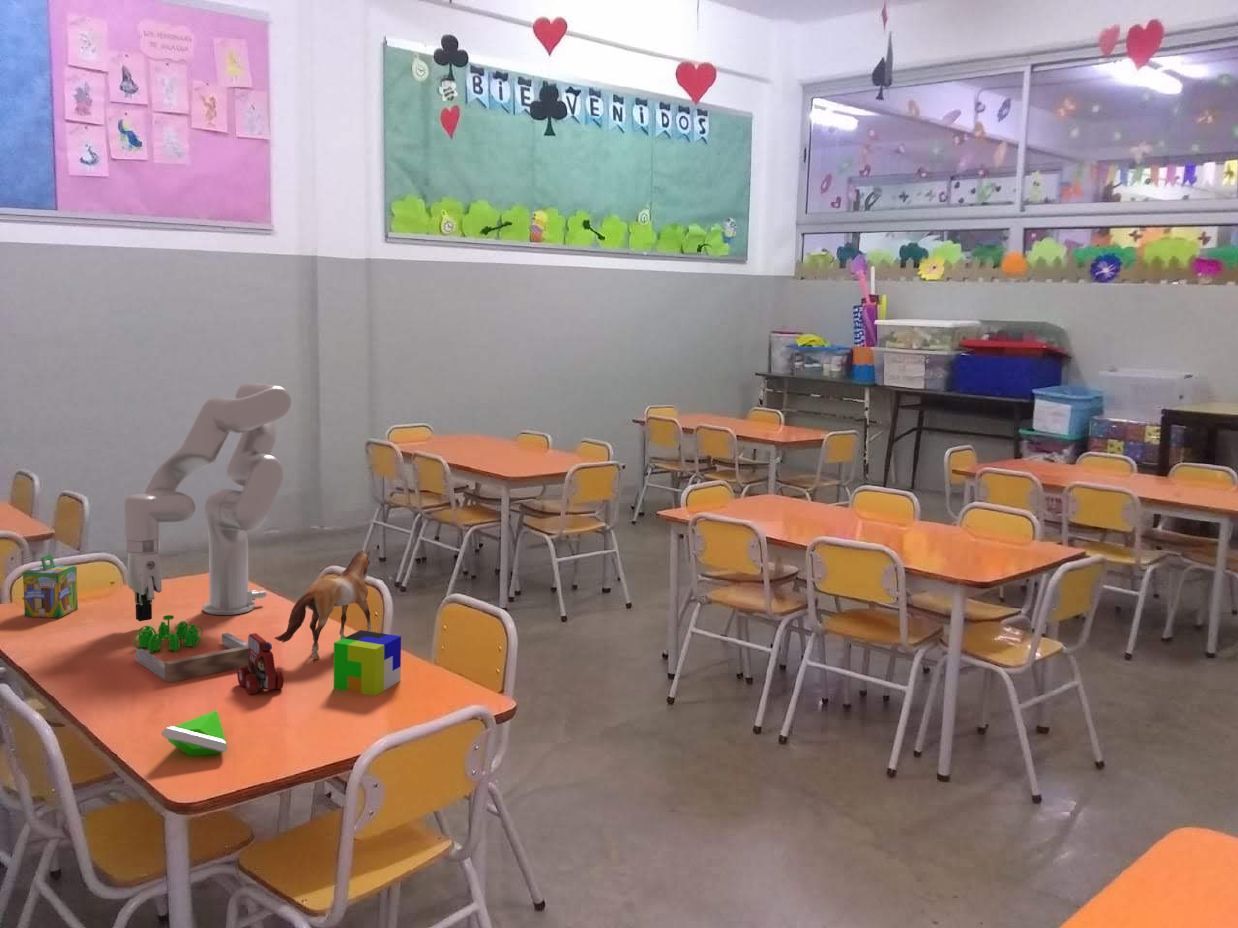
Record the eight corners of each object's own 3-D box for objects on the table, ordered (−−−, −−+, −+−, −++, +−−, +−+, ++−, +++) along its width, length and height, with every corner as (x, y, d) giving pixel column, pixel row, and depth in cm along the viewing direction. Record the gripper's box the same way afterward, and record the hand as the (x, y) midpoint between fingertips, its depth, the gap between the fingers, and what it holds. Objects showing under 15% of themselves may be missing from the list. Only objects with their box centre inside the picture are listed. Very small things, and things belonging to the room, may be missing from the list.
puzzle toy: (400, 681, 226) (401, 636, 225) (375, 696, 217) (375, 649, 215) (360, 674, 229) (360, 630, 228) (333, 688, 220) (333, 642, 218)
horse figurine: (362, 628, 262) (363, 548, 259) (388, 633, 259) (389, 552, 256) (273, 662, 234) (273, 572, 231) (300, 668, 231) (300, 577, 228)
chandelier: (158, 633, 252) (158, 605, 251) (216, 639, 250) (215, 610, 249) (119, 652, 238) (118, 622, 237) (179, 658, 235) (179, 628, 234)
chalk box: (59, 619, 260) (57, 560, 258) (23, 617, 260) (20, 559, 258) (79, 609, 269) (77, 552, 267) (44, 607, 269) (42, 550, 267)
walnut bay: (228, 643, 246) (228, 626, 246) (263, 662, 234) (263, 645, 233) (135, 660, 232) (135, 643, 231) (168, 682, 219) (168, 664, 218)
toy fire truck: (253, 699, 212) (253, 650, 210) (234, 681, 221) (234, 634, 220) (287, 693, 216) (287, 644, 214) (267, 676, 226) (267, 629, 224)
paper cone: (181, 720, 204) (154, 752, 180) (190, 693, 205) (165, 722, 181) (239, 735, 207) (220, 768, 182) (248, 709, 207) (230, 738, 183)
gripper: (170, 549, 250) (171, 624, 252) (146, 538, 260) (148, 610, 263) (138, 553, 245) (139, 629, 247) (115, 542, 255) (116, 615, 258)
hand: (143, 619), depth 255 cm, fingers closed
